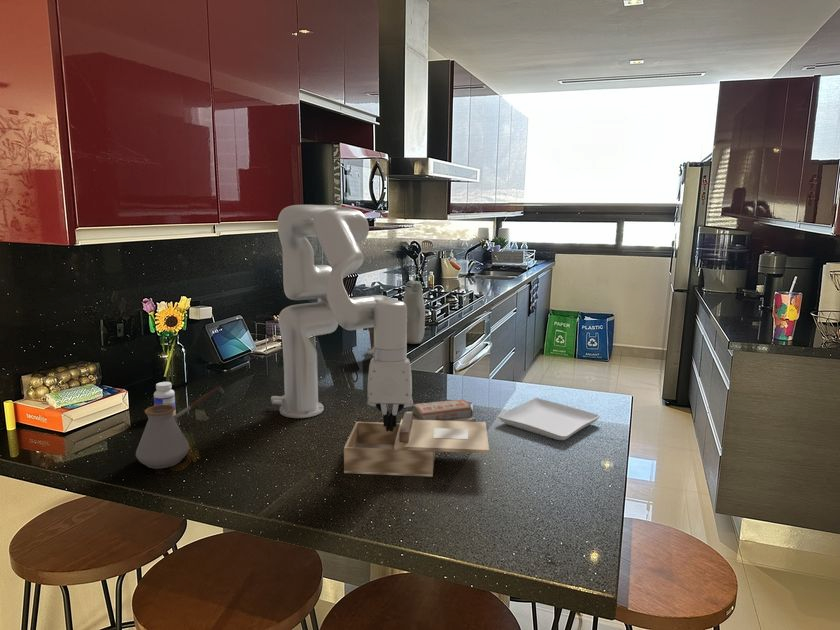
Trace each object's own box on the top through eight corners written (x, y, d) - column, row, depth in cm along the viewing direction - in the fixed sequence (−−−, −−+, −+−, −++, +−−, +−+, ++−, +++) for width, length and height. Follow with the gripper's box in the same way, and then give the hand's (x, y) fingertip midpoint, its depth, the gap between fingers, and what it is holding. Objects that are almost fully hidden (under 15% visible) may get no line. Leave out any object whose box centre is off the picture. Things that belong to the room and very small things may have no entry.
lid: (394, 449, 127) (394, 435, 126) (401, 422, 143) (401, 409, 142) (489, 453, 125) (489, 439, 125) (485, 425, 142) (485, 412, 141)
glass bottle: (396, 343, 252) (397, 280, 247) (413, 339, 259) (414, 278, 254) (411, 347, 245) (412, 282, 240) (428, 343, 252) (430, 280, 247)
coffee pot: (149, 477, 126) (143, 412, 123) (128, 461, 133) (123, 400, 130) (237, 448, 141) (234, 390, 138) (214, 435, 149) (211, 380, 146)
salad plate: (564, 448, 144) (565, 435, 144) (495, 426, 158) (495, 414, 158) (601, 425, 160) (602, 414, 159) (535, 407, 174) (535, 397, 173)
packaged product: (462, 395, 170) (476, 406, 160) (462, 410, 171) (476, 422, 161) (405, 401, 164) (416, 413, 155) (404, 417, 165) (415, 429, 156)
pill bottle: (152, 416, 162) (149, 383, 160) (171, 411, 165) (168, 379, 164) (160, 421, 158) (157, 387, 156) (179, 416, 162) (177, 383, 160)
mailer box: (344, 472, 129) (343, 448, 128) (356, 444, 144) (356, 421, 143) (432, 476, 128) (433, 451, 126) (435, 447, 143) (435, 424, 142)
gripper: (355, 357, 128) (356, 434, 131) (421, 359, 127) (420, 436, 131) (360, 349, 135) (361, 422, 139) (423, 350, 135) (422, 424, 138)
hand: (390, 429), depth 135 cm, fingers closed
